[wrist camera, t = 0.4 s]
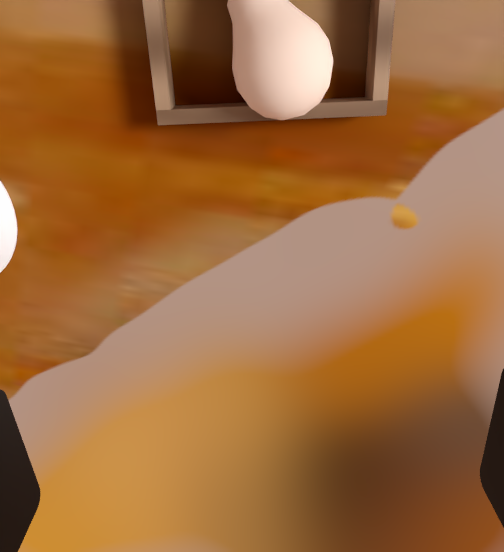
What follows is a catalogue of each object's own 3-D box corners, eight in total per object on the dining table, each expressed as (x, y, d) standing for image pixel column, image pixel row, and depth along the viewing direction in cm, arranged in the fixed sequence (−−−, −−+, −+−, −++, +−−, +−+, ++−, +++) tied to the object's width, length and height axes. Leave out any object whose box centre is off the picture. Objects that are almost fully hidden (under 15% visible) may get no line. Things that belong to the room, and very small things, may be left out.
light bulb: (178, -57, 26) (263, 126, 28) (284, -108, 26) (363, 78, 28) (187, -2, 33) (255, 144, 34) (272, -43, 33) (336, 105, 34)
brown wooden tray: (142, -57, 31) (134, -65, 28) (390, -70, 30) (401, -79, 28) (163, 120, 35) (157, 125, 33) (377, 110, 35) (386, 115, 33)
